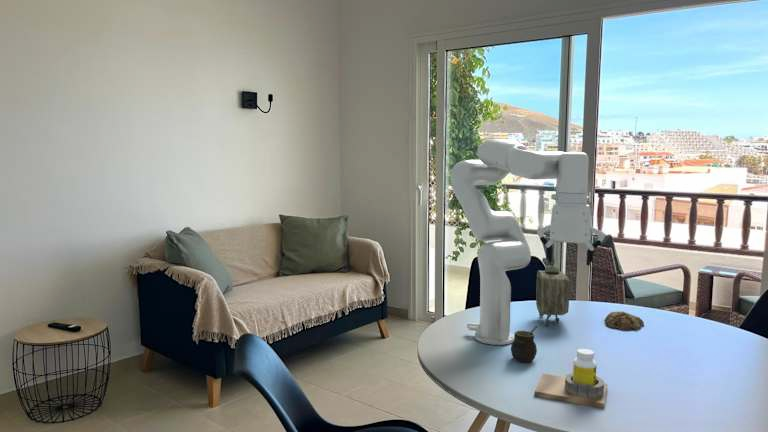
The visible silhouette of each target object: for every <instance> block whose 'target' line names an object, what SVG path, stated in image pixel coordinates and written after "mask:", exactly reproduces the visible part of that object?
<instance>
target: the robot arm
mask: <svg viewBox="0 0 768 432" xmlns="http://www.w3.org/2000/svg"><path fill="white" fill-rule="evenodd" d="M477 157H478V159H466V160H461V161H459V162H457V163H456V164H454V166H452V169H451V172H450V184H451V188H452V191H453V193H454V195H455V197H456V199H457V201H458V202H459V204H460V205H461V209H462V210H463V212H464V217H465V218H466V220H467V223H468V226H469V228H470V231H471V233H472V235H473V237H474V238H475V240H477V241H480V242H486V243H484V244H483V245H481V246H480V248H478V251H477V263H478V268H479V276H480V277H479V278H480V280H479V281H480V282H479V283H480V285H479V286H480V288H479V289H480V293H479V294H480V296H479V298H480V299H479V301H480V302H479V322H476V323H475V322H471V321H470V322H469V321H468V322H467V323H466V328H467V329H468V330H469V331H474V332H475V333H474V338H475V340H476V341H477V342H479V343H483V344H486V345H491V346H503V345H508V344H512V343H513V341H514V339H515V337H514V335H515V334H514V333H512V332H511V302H512V301H511V299H512V298H511V297H512V296H511V295H512V286H511V282H510V279H509V277H508V275H507V273H506V272H507V271H513V270H519V269H523V268H526V267H527V266H528V265H529V264H530V262H531V258H532V255H531V254H532V253H531V248H530V246H529V243H528V241H527V239H526V236H525V234H524V231H523V230H522V228H521V224H520V223H519V221H518V219H517V217H516V216H515V215H514V214H513V213H512V212H510V211H506V210H496V211H495V210H494V209H492V208H491V206H490V204H489V201H488V199H487V197H486V196H485V194H484V193H483V192H481V191H480V190H479V188H477V187H476V186H489V185H490V186H492V185H497V184H498V183H500V182H501V181H503V180H504V178H506V177H507V176H508V175H509V174H511V175H513V176H516V177H520V178H522V179H523V178H524V179H528V180H556V179H557V183H556V185H557V186H556V190H557V191H556V193H554V194H551V196H550V198H551V200H555V201H556V203H554V204H553V206H552V210H551V216H550V224H548V225H546V226H544V227H542V228H540V229H537V230H536V234H537V235H538V238H539V240H540V241H541V243H543V245H544V246H545V247H546V259H548V263H551V262H552V261H553V253H554V246H553V244H554V243H555V242H556V243H569V244H570V243H571V244H584V245H585V246H586V247H587V251H586V265H587V266H588V267H589V266H590V265H591V263H593V262H594V251H595V250H596V249H597V248H598V246H600V245H601V244H602V243H603V240H604V239H605V238H606V233H605V232H603V231H601V230H599V229H598V228H595V227H594V226H592V217H591V216H592V215H591V214H592V213H591V207H590V204H588V182H589V164H590V163H589V161H590V160H589V155H588V154H587V153H586V152H580V151H578V152H577V151H575V152H574V151H573V152H571V151H570V152H569V151H568V152H565V151H555V150H554V151H547V150H546V151H543V150H542V151H535V150H534V151H533V150H532V151H531V150H528V149H527V147H526V146H525V145H524V144H522V143H520V142H519V141H517V140H516V139H511V138H490V139H486V140H484V141H482V142H481V144H480V145H479V146H478V148H477ZM546 232H549V239H548V238H547V237H546V236H545V234H544V233H546ZM592 234H594V235H596V236H597V237H598V238H597V239H596V240H595V241H594V242H592V240H591V237H592Z"/></svg>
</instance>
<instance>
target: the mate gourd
mask: <svg viewBox="0 0 768 432" xmlns="http://www.w3.org/2000/svg"><path fill="white" fill-rule="evenodd" d="M537 328H538V325H535V326H534V328H533V329H532V330H531V331H528V330H516V331H515V332H514V333H513V335H514V337H515V339H514V341H513V342H512V343H511V345H510V351H511V353H510V354H511V356H512V358H513V359H514V360H515V361H517V362H519V363H530V362H532V361H534V360H535V358H536V355H537V352H538V350H537V344H536V342H535V340H534V339H535V334H534V332H535V330H536V329H537Z"/></svg>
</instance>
